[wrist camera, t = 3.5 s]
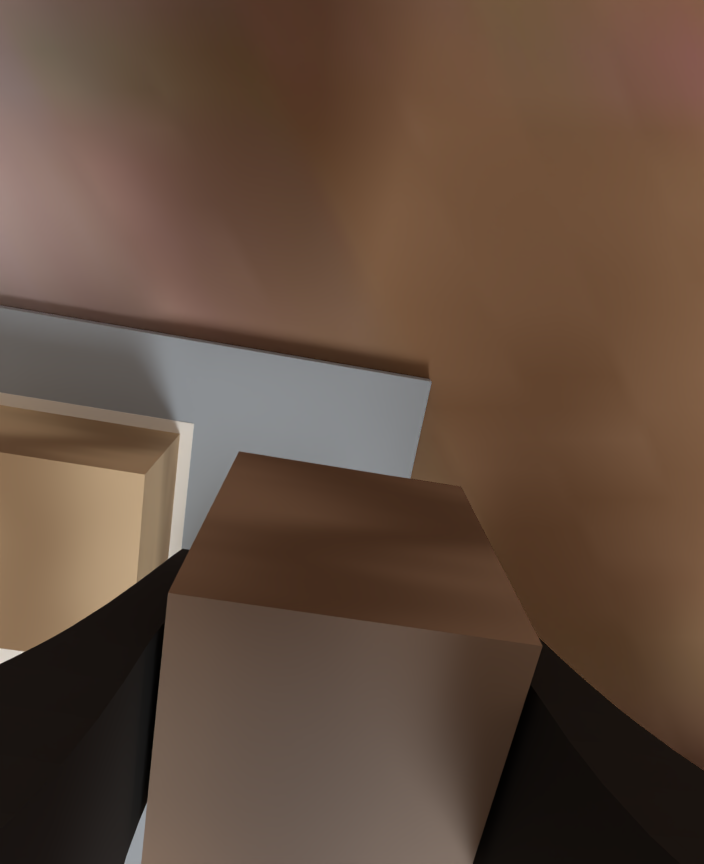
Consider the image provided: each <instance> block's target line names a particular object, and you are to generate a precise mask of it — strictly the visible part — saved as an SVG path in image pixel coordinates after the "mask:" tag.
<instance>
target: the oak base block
mask: <svg viewBox="0 0 704 864" xmlns="http://www.w3.org/2000/svg"><path fill="white" fill-rule="evenodd" d="M179 440H180V434H178V433H172V432H166V431H159V430H153V429H147V428H141V427H135V426H128V425H122V424H116V423H110V422H103V421H97V420H91V419H85V418H78V417H72V416H66V415H60V414H53V413H47V412H41V411H35V410H28V409H22V408H16V407H10V406H3V405H0V648H1V649H9V650H16V651H24V652H25V651H27V650H29V649H31V648H33V647H35V646H37V645H39V644H41V643H43V642H45V641H46V640H48V639H50V638H52V637H54V636H56V635H57V634H59V633H61V632H63V631H64V630H66V629H68V628H70V627H71V626H73V625H74V624H76V623H78V622H79V621H81V620H82V619H84V618H85V617H87V616H89V615H90V614H92V613H93V612H95V611H97V610H98V609H100V608H101V607H103V606H104V605H106V604H107V603H109V602H110V601H112V600H113V599H114V598H116V597H117V596H119V595H120V594H121V593H123V592H124V591H126V590H127V589H128V588H130V587H131V586H133V585H134V584H136V583H137V582H138V581H140V580H141V579H142V578H144V577H145V576H146V575H148V574H149V573H150V572H152V571H153V570H154V569H156V568H157V567H158V566H159V565H161V564H162V563H163V562H165V561H166V560H167V559H168V556H169V545H170V535H171V524H172V513H173V503H174V492H175V482H176V471H177V461H178V450H179Z"/></svg>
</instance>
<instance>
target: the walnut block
mask: <svg viewBox="0 0 704 864" xmlns="http://www.w3.org/2000/svg"><path fill="white" fill-rule="evenodd" d="M541 650H542V644H541V642H540V640H539V638H538V636H537V634H536V632H535V630H534V628H533V626H532V624H531V622H530V620H529V618H528V617H527V615H526V613H525V611H524V609H523V607H522V605H521V603H520V601H519V599H518V597H517V595H516V593H515V591H514V589H513V587H512V585H511V583H510V581H509V579H508V577H507V576H506V574H505V572H504V570H503V568H502V566H501V564H500V562H499V560H498V558H497V556H496V554H495V552H494V550H493V548H492V546H491V544H490V542H489V540H488V538H487V536H486V535H485V533H484V531H483V529H482V527H481V525H480V523H479V521H478V519H477V517H476V515H475V513H474V511H473V509H472V507H471V505H470V503H469V501H468V499H467V497H466V495H465V494H464V492H463V490H462V488H461V487H459V486H453V485H447V484H440V483H434V482H428V481H422V480H415V479H409V478H403V477H397V476H390V475H384V474H378V473H372V472H365V471H359V470H353V469H347V468H340V467H334V466H328V465H322V464H316V463H309V462H303V461H297V460H291V459H284V458H278V457H272V456H266V455H259V454H253V453H247V452H241V451H239V452H238V454H237V456H236V458H235V460H234V462H233V464H232V466H231V468H230V470H229V472H228V474H227V476H226V478H225V480H224V482H223V484H222V486H221V488H220V490H219V492H218V494H217V496H216V498H215V500H214V502H213V504H212V506H211V508H210V510H209V512H208V514H207V516H206V518H205V520H204V522H203V524H202V526H201V528H200V530H199V532H198V534H197V536H196V538H195V540H194V542H193V544H192V546H191V548H190V550H189V552H188V554H187V556H186V558H185V560H184V562H183V564H182V566H181V568H180V570H179V572H178V574H177V576H176V578H175V580H174V582H173V584H172V586H171V588H170V590H169V592H168V598H167V608H166V618H165V628H164V638H163V648H162V658H161V668H160V678H159V688H158V699H157V709H156V719H155V729H154V739H153V749H152V759H151V769H150V779H149V789H148V799H147V809H146V819H145V829H144V840H143V850H142V860H141V864H473V861H474V858H475V855H476V851H477V848H478V845H479V842H480V839H481V836H482V833H483V830H484V827H485V823H486V820H487V817H488V814H489V811H490V808H491V805H492V802H493V799H494V796H495V792H496V789H497V786H498V783H499V780H500V777H501V774H502V771H503V768H504V764H505V761H506V758H507V755H508V752H509V749H510V746H511V743H512V740H513V737H514V733H515V730H516V727H517V724H518V721H519V718H520V715H521V712H522V709H523V705H524V702H525V699H526V696H527V693H528V690H529V687H530V684H531V681H532V678H533V674H534V671H535V668H536V665H537V662H538V659H539V656H540V653H541Z"/></svg>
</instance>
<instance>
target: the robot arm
mask: <svg viewBox="0 0 704 864" xmlns="http://www.w3.org/2000/svg"><path fill="white" fill-rule="evenodd" d="M188 552H189V550H188V549H181V550H180V551H178V552H177V553H175V554H174V555H173V556H171V557H170V558H169V559H167V560H166V561H165V562H163V563H162V564H161V565H159V566H158V567H157V568H156V569H154V570H153V571H152V572H150V573H149V574H148V575H146V576H145V577H144V578H142V579H141V580H140V581H138V582H137V583H136V584H134V585H133V586H131V587H130V588H128V589H127V590H126V591H124V592H123V593H121V594H120V595H119V596H117V597H116V598H114V599H113V600H112V601H110V602H109V603H107V604H106V605H104V606H103V607H101V608H100V609H98V610H97V611H95V612H93V613H92V614H90V615H89V616H87V617H85V618H84V619H82V620H81V621H79V622H78V623H76V624H74V625H73V626H71V627H70V628H68V629H66V630H64V631H63V632H61V633H59V634H57V635H56V636H54V637H52V638H50V639H48V640H46V641H45V642H43V643H41V644H39V645H37V646H35V647H33V648H31V649H29V650H27V651H25V652H23V653H21V654H19V655H17V656H15V657H13V658H11V659H9V660H7V661H5V662H3V663H1V664H0V864H124V863H125V860H126V856H127V853H128V850H129V848H130V845H131V842H132V840H133V837H134V834H135V831H136V829H137V826H138V823H139V821H140V818H141V816H142V814H143V811H144V809H145V806H146V804H147V799H148V789H149V779H150V769H151V759H152V749H153V739H154V729H155V719H156V709H157V699H158V688H159V678H160V668H161V658H162V648H163V638H164V628H165V618H166V608H167V598H168V592H169V590H170V588H171V586H172V584H173V582H174V580H175V578H176V576H177V574H178V572H179V570H180V568H181V566H182V564H183V562H184V560H185V558H186V556H187V554H188ZM539 640H540V642H541V644H542V650H541V653H540V656H539V659H538V662H537V665H536V668H535V671H534V674H533V678H532V681H531V684H530V687H529V690H528V693H527V696H526V699H525V702H524V705H523V709H522V712H521V715H520V718H519V721H518V724H517V727H516V730H515V733H514V737H513V740H512V743H511V746H510V749H509V752H508V755H507V758H506V761H505V764H504V768H503V771H502V774H501V777H500V780H499V783H498V786H497V789H496V792H495V796H494V799H493V802H492V805H491V808H490V811H489V814H488V817H487V820H486V823H485V827H484V830H483V833H482V836H481V839H480V842H479V845H478V848H477V851H476V855H475V858H474V861H473V864H704V771H703V770H702V769H700V768H699V767H697V766H696V765H694V764H693V763H691V762H690V761H688V760H687V759H685V758H684V757H683V756H681V755H680V754H678V753H677V752H675V751H674V750H672V749H671V748H670V747H668V746H667V745H666V744H664V743H663V742H662V741H660V740H659V739H658V738H656V737H655V736H654V735H652V734H651V733H649V732H648V731H647V730H645V729H644V728H643V727H641V726H640V725H639V724H637V723H636V722H635V721H633V720H632V719H631V718H630V717H628V716H627V715H626V714H624V713H623V712H622V711H621V710H619V709H618V708H617V707H616V706H614V705H613V704H612V703H611V702H610V701H609V700H607V699H606V698H605V697H604V696H603V695H601V694H600V693H599V692H598V691H597V690H596V689H594V688H593V687H592V686H591V685H590V684H588V683H587V682H586V681H585V680H584V679H583V678H582V677H581V676H579V675H578V674H577V673H576V672H575V671H574V670H573V669H572V668H570V667H569V666H568V665H567V664H566V663H565V662H564V661H563V660H562V659H561V658H560V657H559V656H557V655H556V654H555V653H554V652H553V651H552V650H551V649H550V648H549V647H548V646H547V645H546V644H545V643H544V642H543V641H542V640H541V639H540V638H539Z"/></svg>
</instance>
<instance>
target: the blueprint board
mask: <svg viewBox="0 0 704 864" xmlns="http://www.w3.org/2000/svg"><path fill="white" fill-rule="evenodd" d="M431 383H432V381H431V380H430V379H427V378H421V377H415V376H410V375H404V374H398V373H392V372H386V371H381V370H375V369H369V368H363V367H357V366H351V365H346V364H340V363H334V362H328V361H322V360H317V359H311V358H305V357H299V356H293V355H287V354H282V353H276V352H270V351H264V350H258V349H253V348H247V347H241V346H235V345H229V344H223V343H218V342H212V341H206V340H200V339H194V338H189V337H183V336H177V335H171V334H165V333H159V332H154V331H148V330H142V329H136V328H130V327H125V326H119V325H113V324H107V323H101V322H95V321H90V320H84V319H78V318H72V317H66V316H61V315H55V314H49V313H43V312H37V311H31V310H26V309H20V308H14V307H8V306H2V305H0V405H3V406H10V407H16V408H22V409H28V410H35V411H41V412H47V413H53V414H60V415H66V416H72V417H78V418H85V419H91V420H97V421H103V422H110V423H116V424H122V425H128V426H135V427H141V428H147V429H153V430H159V431H166V432H172V433H178V434H180V440H179V450H178V461H177V471H176V482H175V492H174V503H173V513H172V524H171V535H170V545H169V556H168V559H169V558H170V557H171V556H173V555H174V554H175V553H177V552H178V551H180V550H181V549H188V550H190V548H191V546H192V544H193V542H194V540H195V538H196V536H197V534H198V532H199V530H200V528H201V526H202V524H203V522H204V520H205V518H206V516H207V514H208V512H209V510H210V508H211V506H212V504H213V502H214V500H215V498H216V496H217V494H218V492H219V490H220V488H221V486H222V484H223V482H224V480H225V478H226V476H227V474H228V472H229V470H230V468H231V466H232V464H233V462H234V460H235V458H236V456H237V454H238V452H239V451H241V452H247V453H253V454H259V455H266V456H272V457H278V458H284V459H291V460H297V461H303V462H309V463H316V464H322V465H328V466H334V467H340V468H347V469H353V470H359V471H365V472H372V473H378V474H384V475H390V476H397V477H403V478H409V479H410V477H411V473H412V468H413V464H414V459H415V455H416V450H417V446H418V441H419V437H420V432H421V428H422V423H423V419H424V414H425V410H426V405H427V401H428V396H429V392H430V387H431ZM23 652H24V651H16V650H9V649H1V648H0V664H1V663H3V662H5V661H7V660H9V659H11V658H13V657H15V656H17V655H19V654H21V653H23ZM146 809H147V804H146V806H145V809H144V811H143V814H142V816H141V818H140V821H139V823H138V826H137V829H136V831H135V834H134V837H133V840H132V842H131V845H130V848H129V850H128V853H127V856H126V860H125V863H124V864H141V860H142V850H143V840H144V829H145V819H146Z"/></svg>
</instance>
